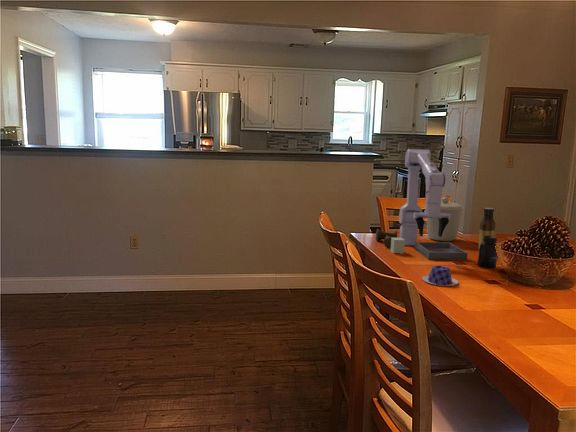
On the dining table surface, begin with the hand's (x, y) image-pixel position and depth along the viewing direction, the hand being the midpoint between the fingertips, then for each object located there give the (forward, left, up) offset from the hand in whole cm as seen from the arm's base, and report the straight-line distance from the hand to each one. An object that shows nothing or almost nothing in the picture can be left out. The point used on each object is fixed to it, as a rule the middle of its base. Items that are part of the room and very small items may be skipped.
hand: (430, 236), depth 183 cm
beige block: (-12, -10, -10) cm, 18 cm away
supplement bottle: (+8, +20, -10) cm, 24 cm away
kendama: (-28, -10, -10) cm, 32 cm away
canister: (-39, +20, -10) cm, 45 cm away
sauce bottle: (-14, +30, -10) cm, 35 cm away
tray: (-10, +8, -10) cm, 16 cm away
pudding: (+27, -6, -10) cm, 30 cm away
